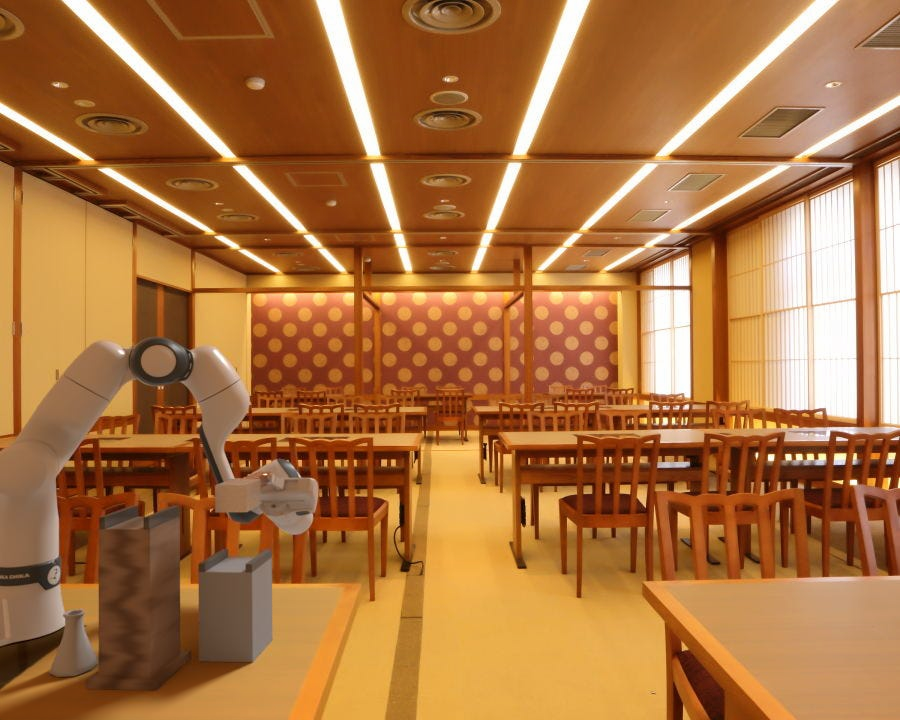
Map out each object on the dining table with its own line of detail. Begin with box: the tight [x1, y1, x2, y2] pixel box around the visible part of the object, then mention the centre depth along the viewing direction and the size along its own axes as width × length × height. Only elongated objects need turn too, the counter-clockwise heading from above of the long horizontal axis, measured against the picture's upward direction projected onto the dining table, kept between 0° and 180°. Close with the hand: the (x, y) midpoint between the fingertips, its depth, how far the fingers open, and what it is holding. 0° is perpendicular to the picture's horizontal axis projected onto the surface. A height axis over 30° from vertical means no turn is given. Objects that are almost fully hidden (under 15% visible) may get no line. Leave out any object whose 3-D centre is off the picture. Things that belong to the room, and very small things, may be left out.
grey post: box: [198, 548, 274, 663], centre depth 122 cm, size 10×10×18 cm
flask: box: [48, 608, 99, 678], centre depth 115 cm, size 7×7×10 cm
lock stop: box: [214, 472, 270, 513], centre depth 128 cm, size 6×17×5 cm, turn 175°
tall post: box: [85, 505, 192, 691], centre depth 113 cm, size 12×12×28 cm
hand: (259, 477), depth 134 cm, fingers closed on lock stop, 2 cm apart
